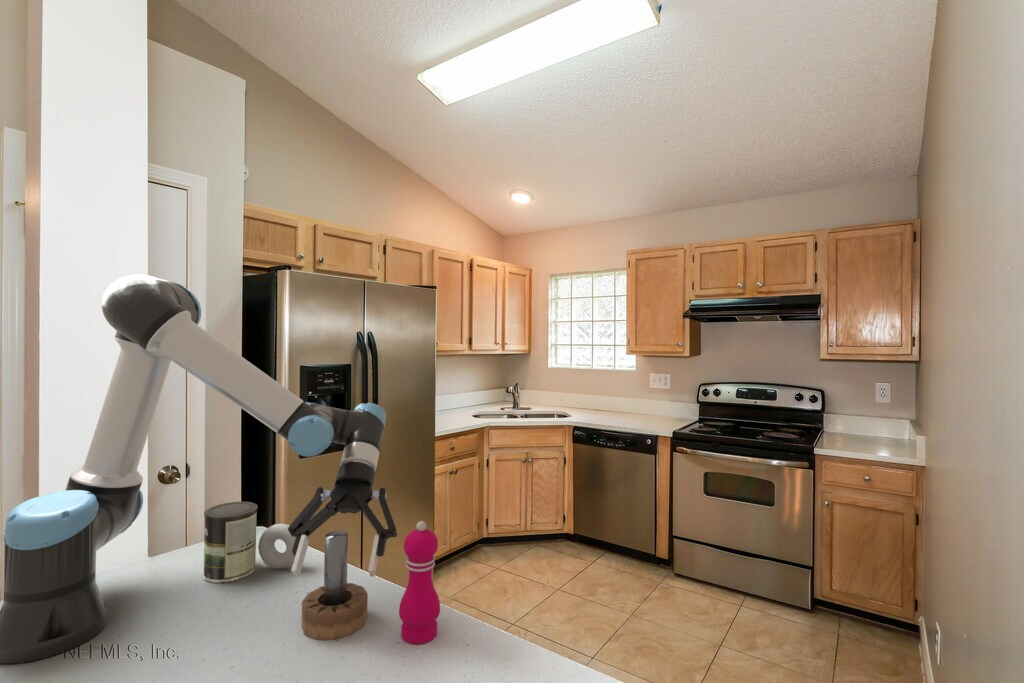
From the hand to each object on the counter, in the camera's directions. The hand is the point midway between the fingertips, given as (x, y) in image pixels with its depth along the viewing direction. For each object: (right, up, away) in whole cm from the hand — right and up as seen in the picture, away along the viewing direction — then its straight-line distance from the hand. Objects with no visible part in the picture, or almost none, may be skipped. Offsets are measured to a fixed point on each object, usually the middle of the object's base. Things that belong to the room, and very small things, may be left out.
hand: (333, 573), depth 90 cm
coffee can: (-30, -9, +20) cm, 38 cm away
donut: (-20, -10, +23) cm, 32 cm away
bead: (0, -10, +2) cm, 10 cm away
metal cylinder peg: (0, -10, +2) cm, 10 cm away
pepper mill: (+16, -10, -2) cm, 19 cm away
